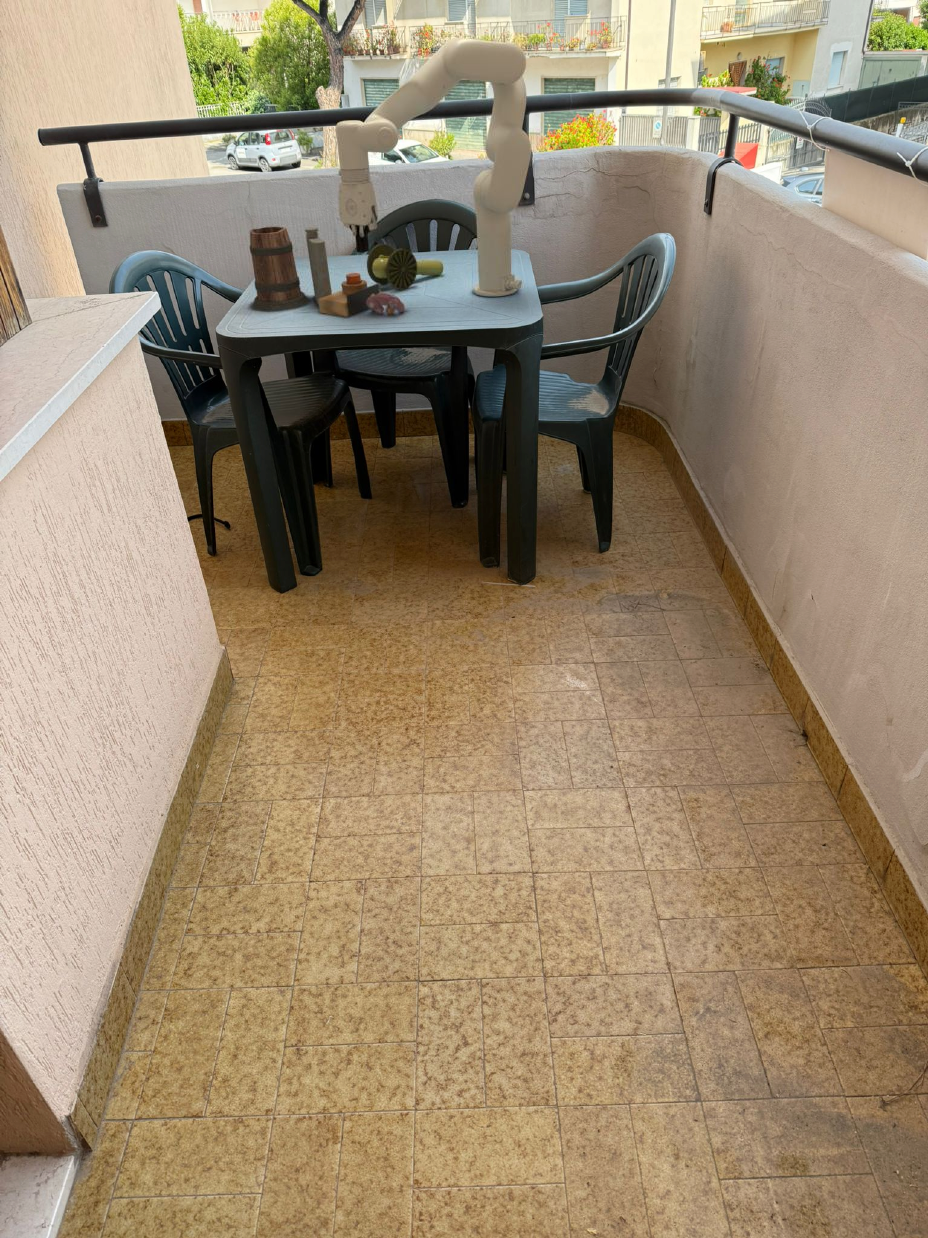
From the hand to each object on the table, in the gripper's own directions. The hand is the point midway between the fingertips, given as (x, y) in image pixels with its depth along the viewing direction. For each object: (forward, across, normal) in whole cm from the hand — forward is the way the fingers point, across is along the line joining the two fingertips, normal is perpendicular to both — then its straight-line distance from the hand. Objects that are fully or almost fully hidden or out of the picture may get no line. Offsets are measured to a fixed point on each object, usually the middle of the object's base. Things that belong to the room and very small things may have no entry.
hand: (363, 251), depth 228 cm
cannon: (+15, -7, +28) cm, 32 cm away
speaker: (+15, -5, -1) cm, 16 cm away
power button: (+10, -6, +2) cm, 12 cm away
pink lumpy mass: (+15, +8, -2) cm, 17 cm away
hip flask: (+15, -17, 0) cm, 23 cm away
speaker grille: (+15, 0, -2) cm, 15 cm away
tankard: (+16, -30, -4) cm, 34 cm away
